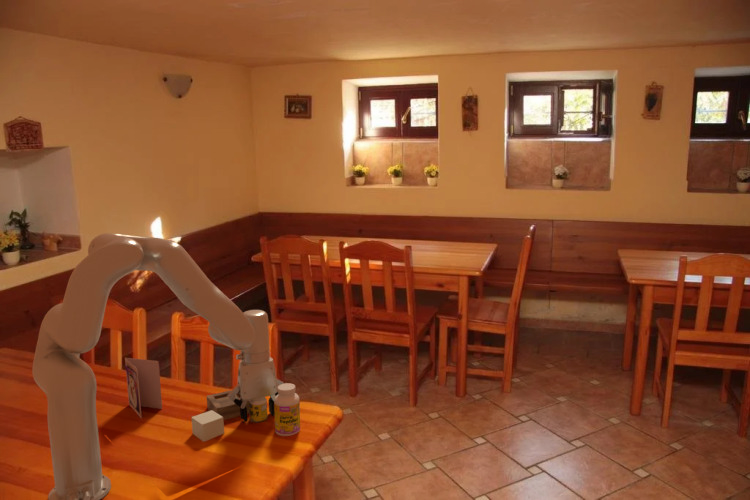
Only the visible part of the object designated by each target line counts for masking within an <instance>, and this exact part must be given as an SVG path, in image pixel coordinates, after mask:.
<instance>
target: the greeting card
mask: <svg viewBox="0 0 750 500" xmlns="http://www.w3.org/2000/svg"><path fill="white" fill-rule="evenodd" d="M124 362H125V363H124V364H123V366H124V368H125V374H126V376H125V377H126V384H127V385H126V387H127V397H128V406H130V408H131V409H132V410H133V411H134V412H135V413H136V414H137V415H138V417H139V419H143V417H142V407H144V408H150V409H151V408H152V409H159V410H160V409H161V410H163V402H162V388H161V375H160V364H159V363H160V361H159V360H153V359H152V360H150V359H141V358H131V357H124Z"/></svg>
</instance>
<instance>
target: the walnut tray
mask: <svg viewBox="0 0 750 500" xmlns="http://www.w3.org/2000/svg"><path fill="white" fill-rule="evenodd" d="M232 390H233V389H232ZM232 390H231V389H230V390H227V391H226V390H225V391H223V392H218V393H212V394H209V395H206V406H207V407H206V408H207V410H208V411H211V410H213V411H214V412H216V413H218V414H219V415H221V416H222V417H223V420H224V421H227V420H230V419H233V418H236V417H240V407H239V406H238V405H236V404H235V403H234V402H233V401H232V400H231V399H229V397H228V394H229V393H230V392H231V391H232ZM235 397H236V398H237V399H240V397H241V396H240V394H239V393H237V394H236V395H235ZM246 408H247V414H250V410H249V400H248V401H247V403H246Z"/></svg>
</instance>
